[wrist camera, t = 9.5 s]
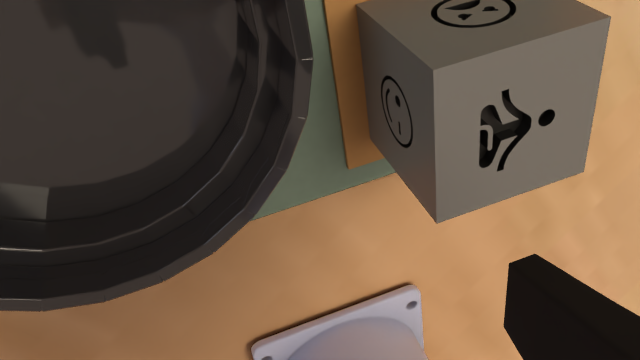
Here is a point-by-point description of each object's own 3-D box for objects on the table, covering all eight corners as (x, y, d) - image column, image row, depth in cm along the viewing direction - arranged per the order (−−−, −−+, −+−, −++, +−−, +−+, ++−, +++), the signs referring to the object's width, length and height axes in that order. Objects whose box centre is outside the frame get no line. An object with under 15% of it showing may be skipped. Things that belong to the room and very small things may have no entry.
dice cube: (356, 4, 18) (433, 69, 14) (500, -36, 19) (610, 17, 15) (370, 138, 21) (436, 223, 17) (493, 99, 22) (583, 171, 18)
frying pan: (310, 168, 21) (341, 221, 19) (-76, 294, 19) (-100, 373, 16) (219, -305, 13) (252, -321, 11) (-483, -185, 11) (-651, -170, 8)
